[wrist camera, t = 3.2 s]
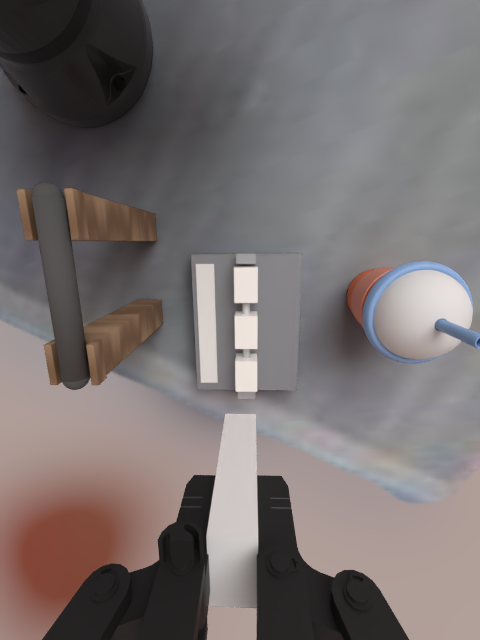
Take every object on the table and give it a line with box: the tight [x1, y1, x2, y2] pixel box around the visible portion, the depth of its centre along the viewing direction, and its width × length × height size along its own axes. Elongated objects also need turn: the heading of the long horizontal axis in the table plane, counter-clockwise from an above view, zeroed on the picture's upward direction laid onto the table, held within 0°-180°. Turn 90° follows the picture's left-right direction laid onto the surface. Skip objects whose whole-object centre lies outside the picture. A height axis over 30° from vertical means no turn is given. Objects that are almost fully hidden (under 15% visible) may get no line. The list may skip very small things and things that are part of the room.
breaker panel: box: [191, 253, 302, 399], centre depth 35 cm, size 16×12×5 cm
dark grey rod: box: [31, 182, 90, 390], centre depth 20 cm, size 14×2×2 cm, turn 1°
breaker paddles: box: [234, 266, 258, 392], centre depth 33 cm, size 14×2×2 cm, turn 1°
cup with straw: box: [347, 261, 480, 363], centre depth 28 cm, size 9×9×18 cm
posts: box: [16, 188, 163, 385], centre depth 29 cm, size 13×4×17 cm, turn 1°
